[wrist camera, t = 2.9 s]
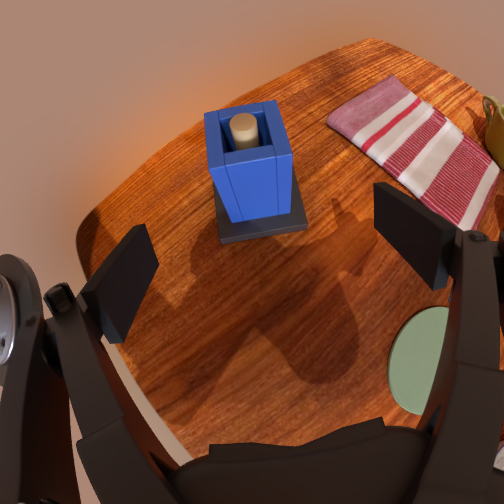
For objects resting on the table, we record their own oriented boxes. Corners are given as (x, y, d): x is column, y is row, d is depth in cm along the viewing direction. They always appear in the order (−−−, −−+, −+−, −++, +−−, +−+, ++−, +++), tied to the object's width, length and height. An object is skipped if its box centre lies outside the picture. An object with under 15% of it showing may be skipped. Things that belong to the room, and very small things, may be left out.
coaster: (401, 432, 21) (403, 434, 21) (372, 336, 25) (374, 336, 24) (480, 379, 21) (483, 379, 21) (456, 290, 25) (459, 289, 24)
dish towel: (385, 81, 35) (388, 70, 32) (496, 177, 28) (505, 168, 26) (322, 126, 33) (325, 112, 30) (460, 250, 26) (472, 244, 24)
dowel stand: (306, 229, 29) (320, 160, 17) (222, 244, 29) (184, 185, 17) (289, 160, 32) (289, 78, 20) (214, 173, 32) (182, 98, 20)
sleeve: (290, 213, 28) (293, 154, 18) (231, 223, 28) (208, 169, 19) (278, 165, 30) (275, 99, 20) (225, 174, 30) (203, 112, 21)
